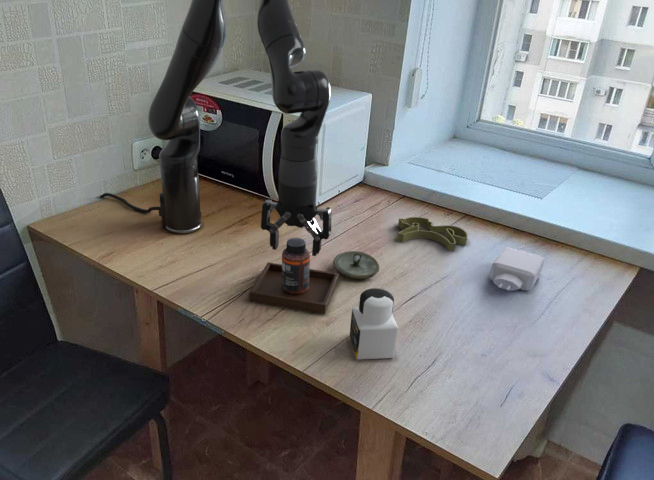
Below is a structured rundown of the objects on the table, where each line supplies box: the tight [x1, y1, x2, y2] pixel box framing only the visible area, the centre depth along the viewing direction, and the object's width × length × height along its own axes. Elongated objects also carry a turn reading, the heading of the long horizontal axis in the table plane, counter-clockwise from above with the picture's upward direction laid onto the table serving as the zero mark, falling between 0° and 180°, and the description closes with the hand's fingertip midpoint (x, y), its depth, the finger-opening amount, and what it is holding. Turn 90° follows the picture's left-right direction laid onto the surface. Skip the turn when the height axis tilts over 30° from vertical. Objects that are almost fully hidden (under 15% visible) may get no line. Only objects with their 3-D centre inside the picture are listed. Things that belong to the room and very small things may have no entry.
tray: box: [248, 262, 340, 315], centre depth 132 cm, size 16×13×2 cm
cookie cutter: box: [397, 216, 468, 252], centre depth 155 cm, size 18×12×2 cm, turn 66°
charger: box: [488, 247, 545, 292], centre depth 135 cm, size 5×9×15 cm
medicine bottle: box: [348, 287, 399, 361], centre depth 112 cm, size 7×7×12 cm
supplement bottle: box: [281, 237, 311, 294], centre depth 129 cm, size 6×6×11 cm
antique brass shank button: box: [332, 250, 380, 280], centre depth 139 cm, size 11×10×5 cm
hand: (294, 251), depth 127 cm, fingers open, 8 cm apart
